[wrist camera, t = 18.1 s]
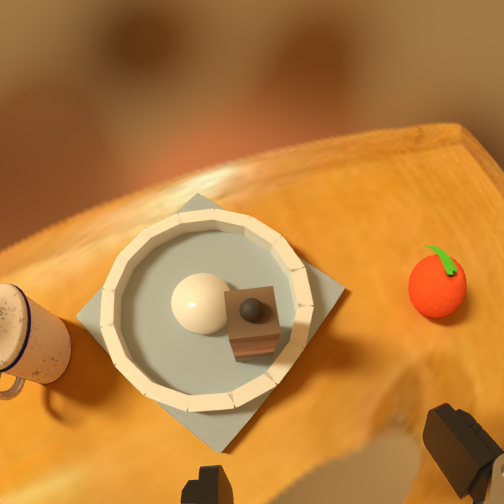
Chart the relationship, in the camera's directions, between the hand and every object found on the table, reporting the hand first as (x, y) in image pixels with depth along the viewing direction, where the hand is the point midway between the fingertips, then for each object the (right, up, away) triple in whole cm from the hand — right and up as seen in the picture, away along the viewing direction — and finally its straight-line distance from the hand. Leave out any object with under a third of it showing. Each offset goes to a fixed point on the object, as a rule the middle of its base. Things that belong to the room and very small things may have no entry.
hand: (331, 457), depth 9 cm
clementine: (+17, +2, +23) cm, 29 cm away
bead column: (-3, -1, +20) cm, 20 cm away
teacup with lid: (-27, -5, +19) cm, 34 cm away
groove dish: (-8, +1, +22) cm, 24 cm away
